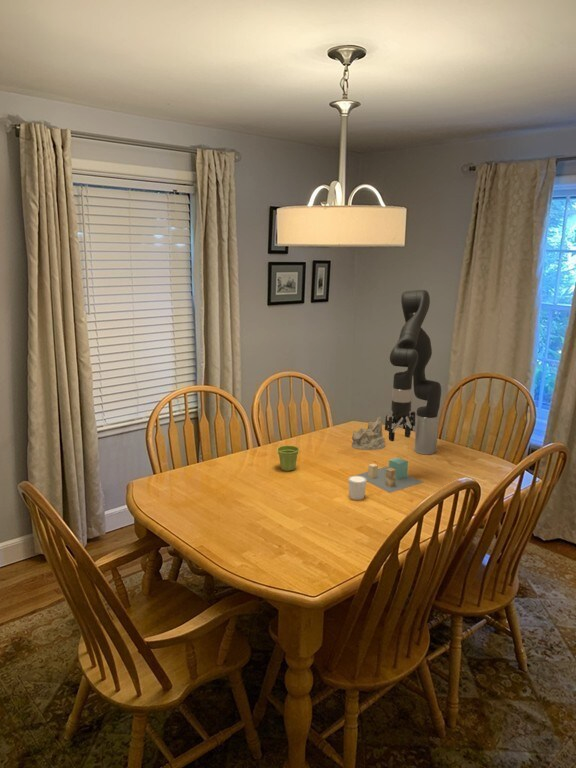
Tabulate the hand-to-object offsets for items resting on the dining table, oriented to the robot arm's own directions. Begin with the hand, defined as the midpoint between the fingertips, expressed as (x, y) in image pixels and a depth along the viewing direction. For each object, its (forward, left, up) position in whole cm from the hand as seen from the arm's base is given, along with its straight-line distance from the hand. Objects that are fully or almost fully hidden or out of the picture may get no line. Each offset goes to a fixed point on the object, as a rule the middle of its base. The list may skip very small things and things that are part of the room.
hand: (399, 438), depth 222 cm
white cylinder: (+25, +4, -17) cm, 30 cm away
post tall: (+9, +5, -17) cm, 20 cm away
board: (+5, 0, -17) cm, 17 cm away
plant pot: (+31, -33, -17) cm, 48 cm away
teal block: (0, 0, -16) cm, 16 cm away
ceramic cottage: (-18, -37, -17) cm, 45 cm away
